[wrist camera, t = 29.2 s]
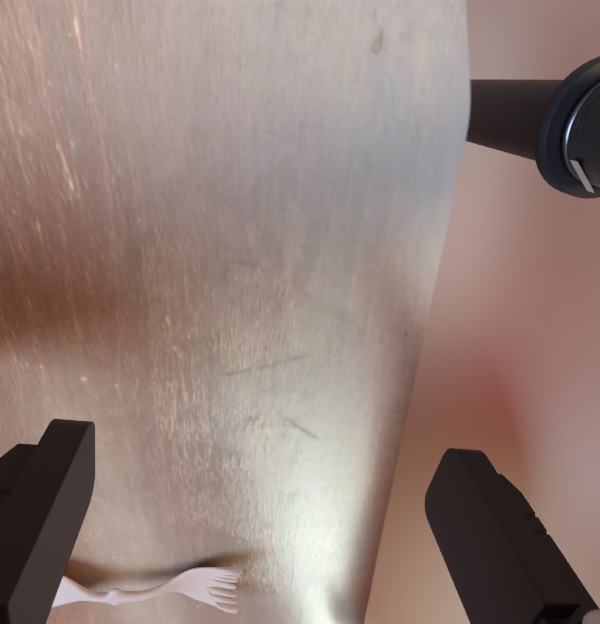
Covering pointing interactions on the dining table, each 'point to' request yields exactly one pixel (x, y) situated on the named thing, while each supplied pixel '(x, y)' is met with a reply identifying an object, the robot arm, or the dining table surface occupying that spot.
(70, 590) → the white plastic fork
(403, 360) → the dining table surface
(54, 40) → the dining table surface
